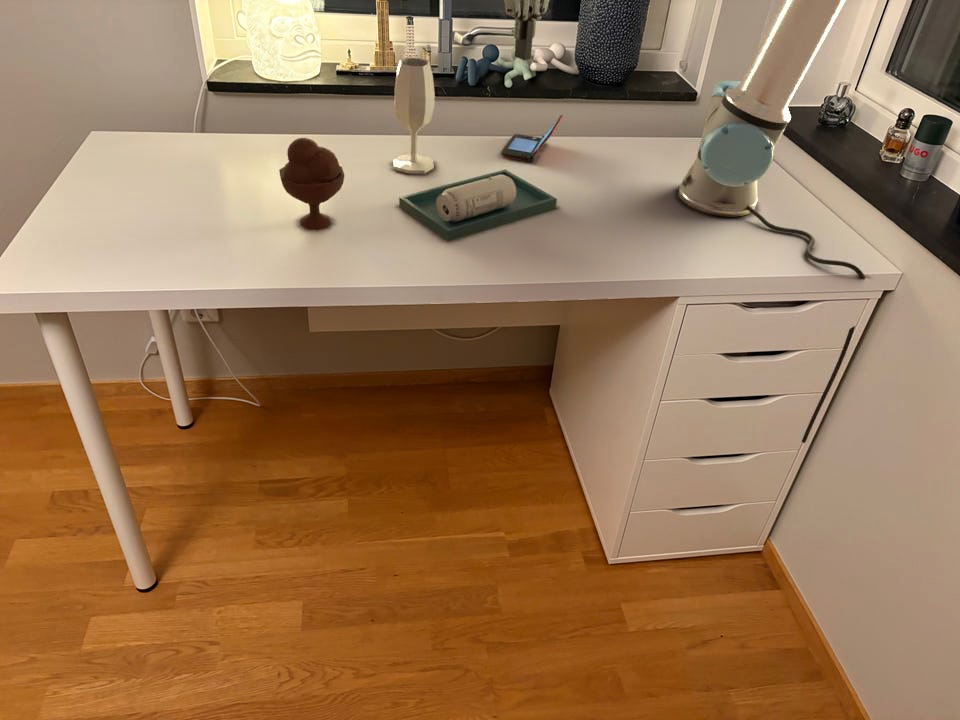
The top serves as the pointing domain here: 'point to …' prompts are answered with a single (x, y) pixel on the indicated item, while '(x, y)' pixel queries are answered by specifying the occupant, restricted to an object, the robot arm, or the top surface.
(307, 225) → the ice cream bowl
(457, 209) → the energy drink can
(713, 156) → the robot arm
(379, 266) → the top surface
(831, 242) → the top surface
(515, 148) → the handheld console
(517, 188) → the tray
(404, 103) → the wineglass
